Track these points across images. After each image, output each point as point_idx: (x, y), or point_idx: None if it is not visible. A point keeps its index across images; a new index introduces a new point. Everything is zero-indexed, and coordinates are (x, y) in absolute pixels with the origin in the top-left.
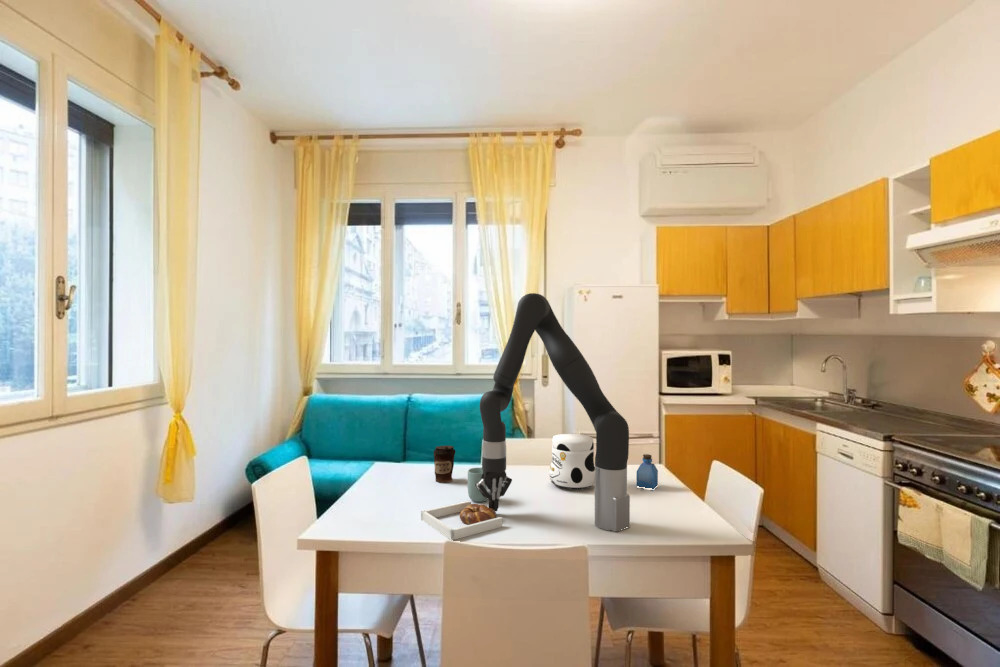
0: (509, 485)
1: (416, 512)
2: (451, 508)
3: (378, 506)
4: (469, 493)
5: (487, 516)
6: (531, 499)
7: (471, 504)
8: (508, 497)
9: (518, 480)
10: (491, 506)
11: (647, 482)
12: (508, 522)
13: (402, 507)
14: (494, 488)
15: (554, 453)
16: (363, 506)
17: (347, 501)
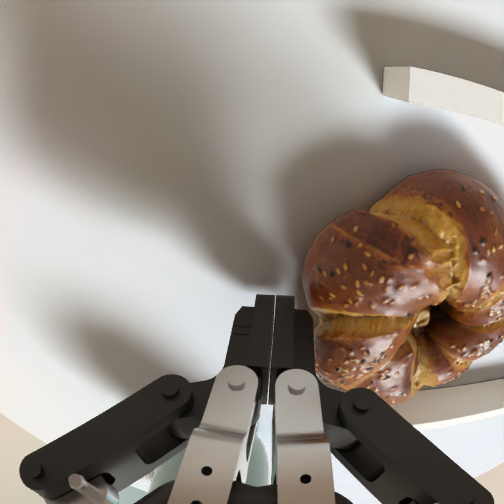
0: (65, 434)
1: (478, 423)
2: (439, 410)
3: (478, 458)
4: (268, 468)
5: (473, 201)
6: (10, 316)
7: (399, 400)
8: (90, 384)
9: (38, 418)
10: (310, 332)
11: None
12: (278, 104)
13: (460, 450)
14: (300, 483)
15: None
16: (490, 460)
17: (477, 475)
